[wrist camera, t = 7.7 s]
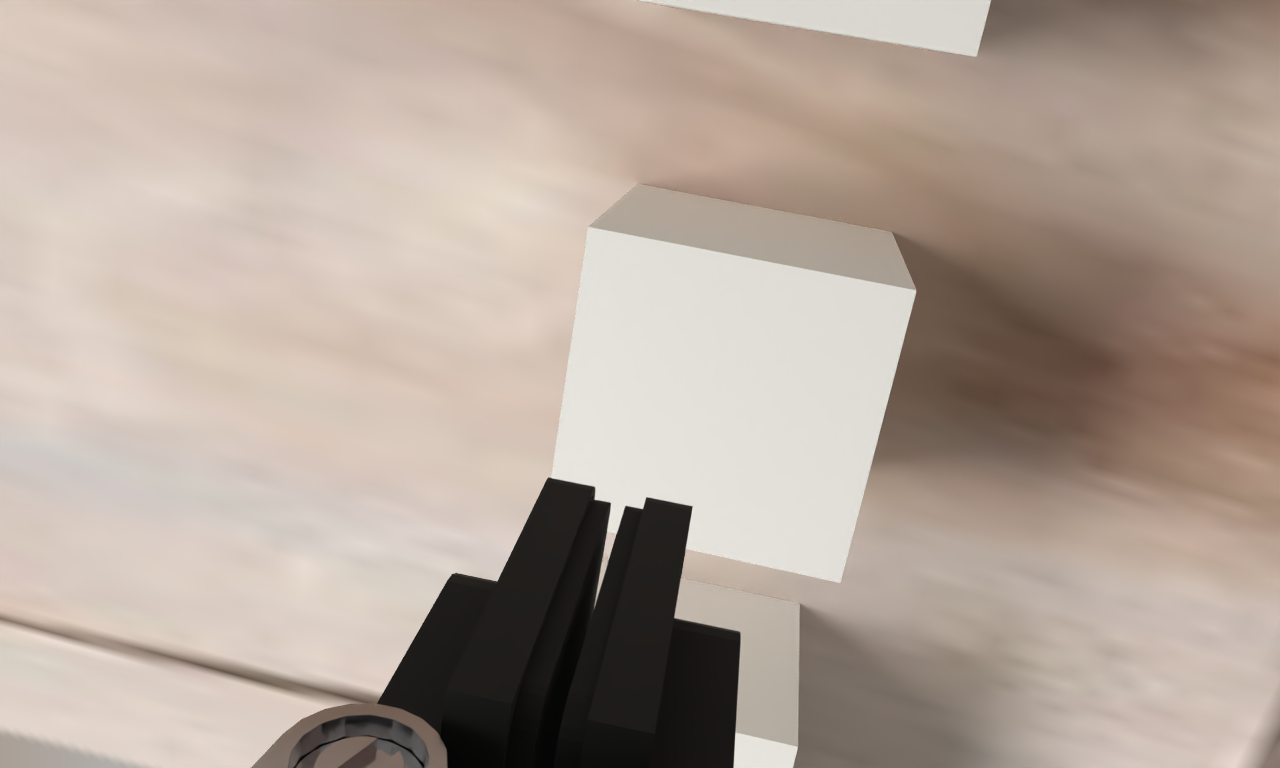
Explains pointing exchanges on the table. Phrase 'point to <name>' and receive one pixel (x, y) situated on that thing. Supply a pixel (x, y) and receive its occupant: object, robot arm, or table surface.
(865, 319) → the plain block
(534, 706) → the robot arm
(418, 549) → the table surface
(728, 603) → the three dot block
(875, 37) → the two dot block
